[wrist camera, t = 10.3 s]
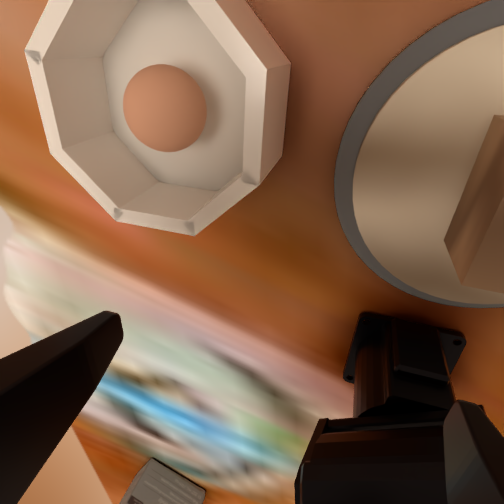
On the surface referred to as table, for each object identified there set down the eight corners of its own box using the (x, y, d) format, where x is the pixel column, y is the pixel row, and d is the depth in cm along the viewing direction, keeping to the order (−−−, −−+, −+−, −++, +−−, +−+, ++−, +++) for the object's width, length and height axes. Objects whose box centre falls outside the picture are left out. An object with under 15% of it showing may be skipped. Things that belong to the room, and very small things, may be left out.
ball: (218, 146, 20) (188, 166, 16) (153, 137, 20) (112, 156, 17) (218, 65, 17) (183, 70, 14) (146, 59, 18) (97, 62, 15)
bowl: (277, 208, 21) (255, 247, 17) (118, 182, 24) (64, 211, 19) (299, -20, 16) (274, -42, 11) (85, -25, 18) (0, -46, 14)
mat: (583, 324, 20) (590, 334, 19) (316, 271, 23) (315, 278, 22) (827, -7, 12) (854, -10, 11) (368, -18, 15) (368, -21, 14)
